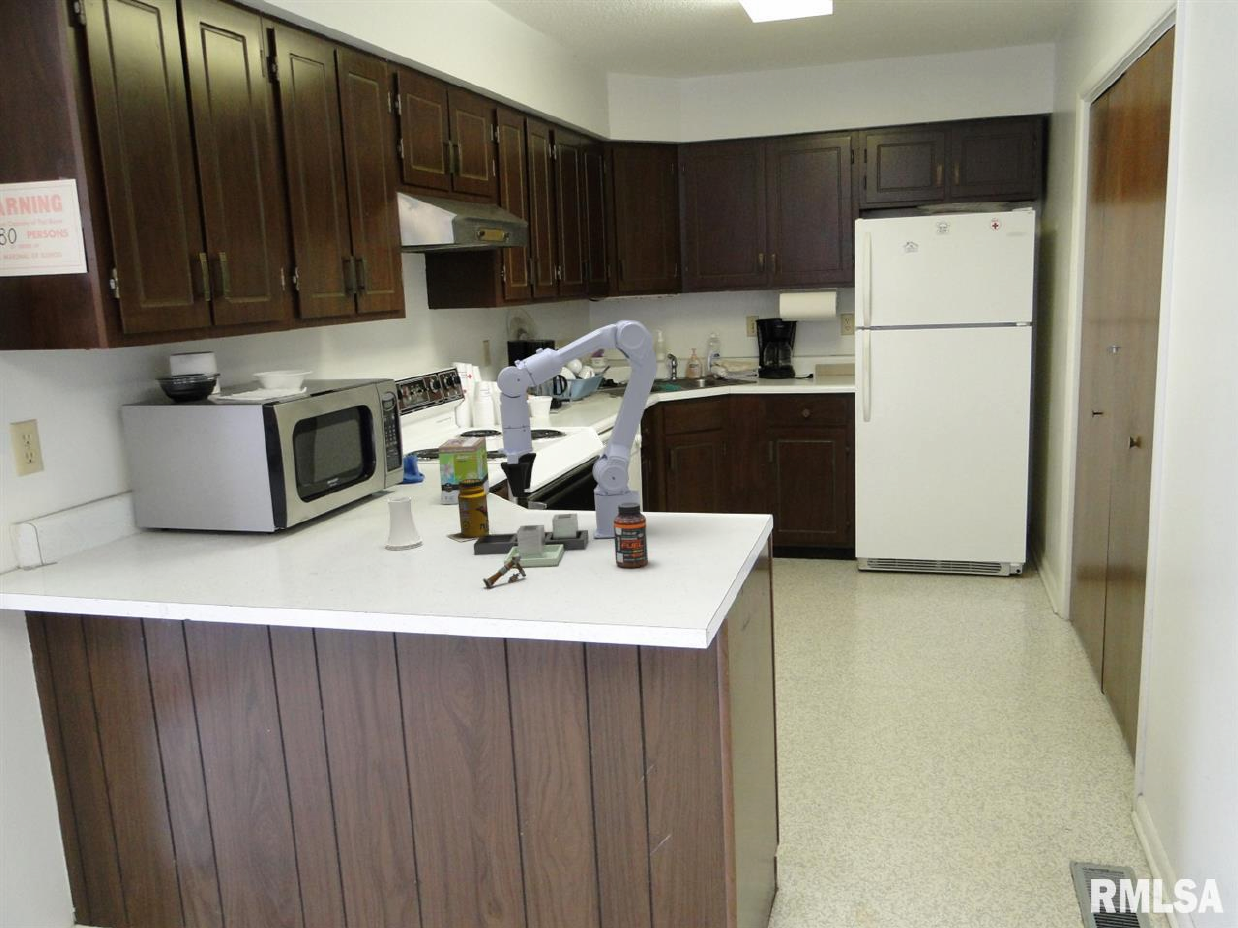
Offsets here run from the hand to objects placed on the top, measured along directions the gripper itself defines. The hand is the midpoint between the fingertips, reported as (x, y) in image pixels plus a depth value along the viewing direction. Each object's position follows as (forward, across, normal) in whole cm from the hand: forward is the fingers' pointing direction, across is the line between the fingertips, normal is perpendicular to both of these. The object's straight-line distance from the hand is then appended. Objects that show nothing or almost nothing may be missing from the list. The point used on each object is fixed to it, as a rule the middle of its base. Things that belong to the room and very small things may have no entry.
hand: (521, 492), depth 201 cm
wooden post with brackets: (+11, +28, +1) cm, 30 cm away
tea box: (+11, -49, -23) cm, 55 cm away
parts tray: (+10, +14, +4) cm, 18 cm away
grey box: (+10, +14, +4) cm, 18 cm away
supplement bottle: (+11, +20, +23) cm, 32 cm away
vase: (+11, -2, -26) cm, 28 cm away
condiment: (+11, -8, -13) cm, 19 cm away
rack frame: (+10, +4, +2) cm, 11 cm away
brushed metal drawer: (+10, +4, +9) cm, 14 cm away
